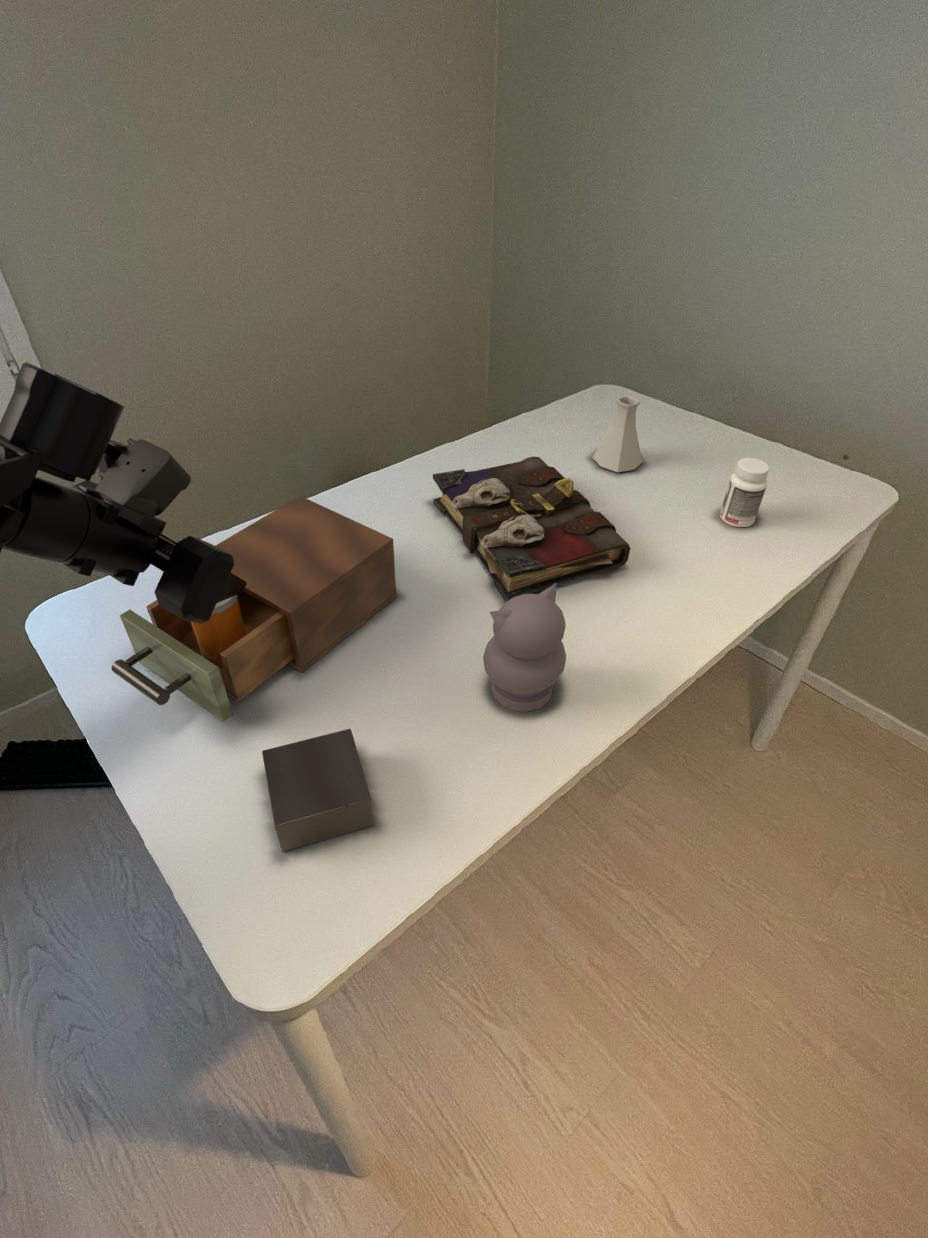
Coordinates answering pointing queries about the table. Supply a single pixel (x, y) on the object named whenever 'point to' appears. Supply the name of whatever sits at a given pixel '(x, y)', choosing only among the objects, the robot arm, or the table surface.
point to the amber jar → (220, 630)
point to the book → (529, 525)
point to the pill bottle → (745, 492)
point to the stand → (317, 789)
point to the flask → (621, 439)
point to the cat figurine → (526, 650)
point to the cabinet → (315, 573)
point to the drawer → (183, 667)
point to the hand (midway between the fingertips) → (211, 568)
